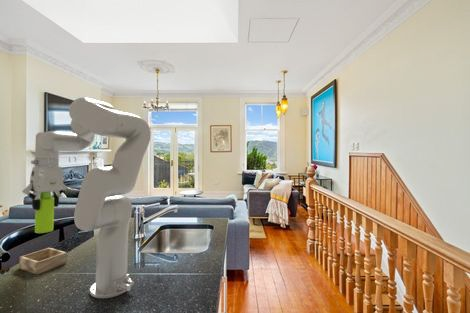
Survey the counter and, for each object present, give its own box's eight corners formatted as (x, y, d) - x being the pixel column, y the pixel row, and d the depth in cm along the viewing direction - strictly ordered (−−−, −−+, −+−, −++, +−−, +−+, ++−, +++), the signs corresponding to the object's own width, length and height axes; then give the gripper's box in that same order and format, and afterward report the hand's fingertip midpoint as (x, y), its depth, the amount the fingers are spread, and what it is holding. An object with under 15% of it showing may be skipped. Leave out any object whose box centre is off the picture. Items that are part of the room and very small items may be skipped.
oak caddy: (66, 263, 98) (66, 252, 98) (36, 274, 88) (37, 262, 88) (49, 257, 103) (49, 247, 103) (19, 268, 93) (19, 256, 93)
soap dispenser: (44, 234, 92) (46, 182, 92) (30, 232, 93) (32, 181, 94) (59, 229, 98) (60, 181, 98) (45, 228, 99) (47, 180, 99)
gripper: (26, 164, 86) (25, 213, 86) (74, 163, 102) (73, 205, 102) (15, 163, 89) (14, 211, 89) (63, 162, 105) (62, 203, 105)
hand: (45, 207), depth 96 cm, fingers closed on soap dispenser, 5 cm apart
